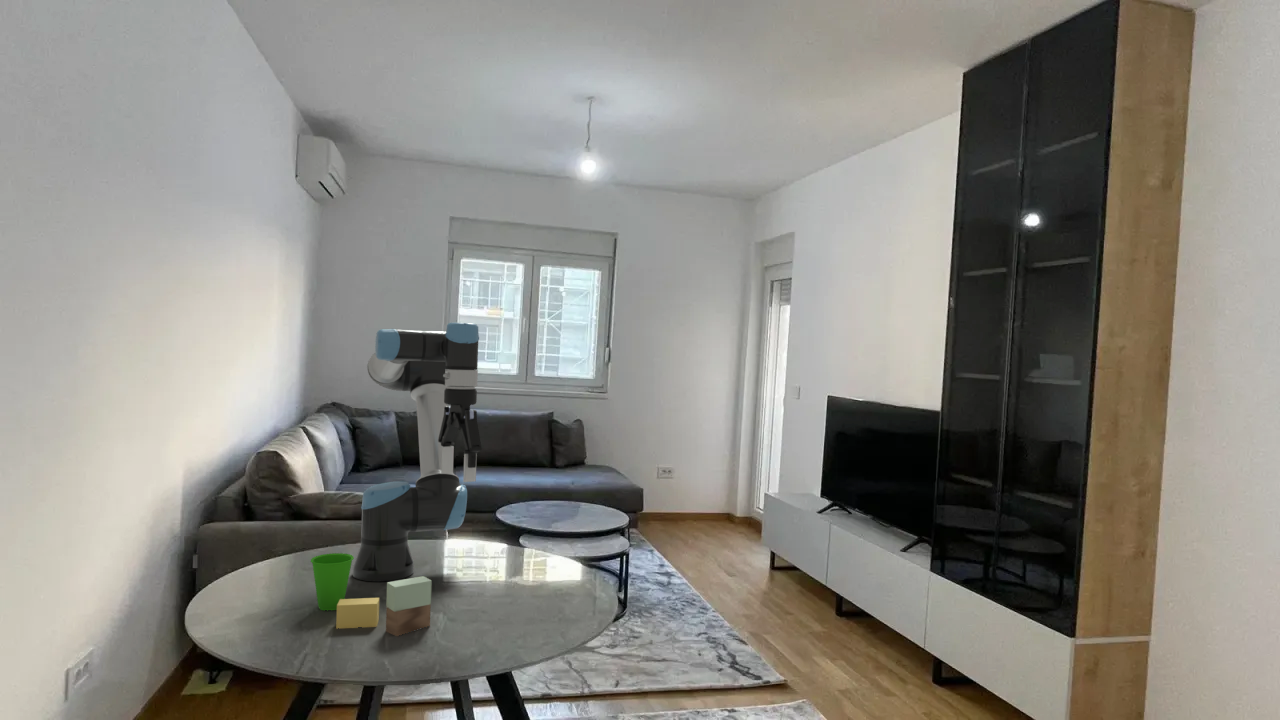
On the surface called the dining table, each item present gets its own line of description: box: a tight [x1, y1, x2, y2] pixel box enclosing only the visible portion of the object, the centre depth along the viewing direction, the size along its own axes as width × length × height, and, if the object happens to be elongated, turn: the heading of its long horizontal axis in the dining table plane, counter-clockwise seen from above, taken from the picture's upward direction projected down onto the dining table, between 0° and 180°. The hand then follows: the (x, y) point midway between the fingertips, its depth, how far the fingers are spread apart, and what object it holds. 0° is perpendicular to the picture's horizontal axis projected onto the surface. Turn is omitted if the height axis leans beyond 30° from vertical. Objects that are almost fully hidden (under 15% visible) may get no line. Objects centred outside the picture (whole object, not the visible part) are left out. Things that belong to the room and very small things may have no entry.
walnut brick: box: [385, 603, 432, 637], centre depth 158 cm, size 8×4×5 cm, turn 141°
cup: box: [310, 552, 355, 612], centre depth 170 cm, size 9×9×11 cm
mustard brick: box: [335, 597, 380, 630], centre depth 160 cm, size 8×4×5 cm, turn 103°
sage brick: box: [385, 575, 433, 612], centre depth 158 cm, size 8×4×5 cm, turn 131°
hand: (458, 477), depth 178 cm, fingers open, 13 cm apart
